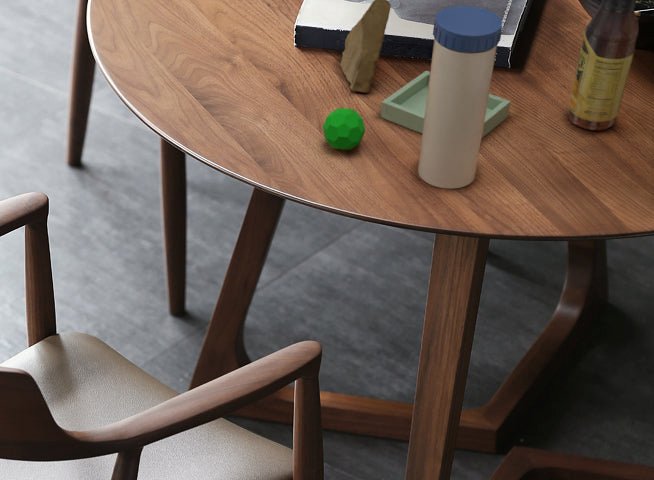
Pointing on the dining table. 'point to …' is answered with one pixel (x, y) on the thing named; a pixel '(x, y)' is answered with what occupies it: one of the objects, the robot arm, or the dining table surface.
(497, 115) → the tray
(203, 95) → the dining table surface
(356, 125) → the polyhedron
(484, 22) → the lid
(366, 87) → the rock
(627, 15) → the sauce bottle
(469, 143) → the jar
